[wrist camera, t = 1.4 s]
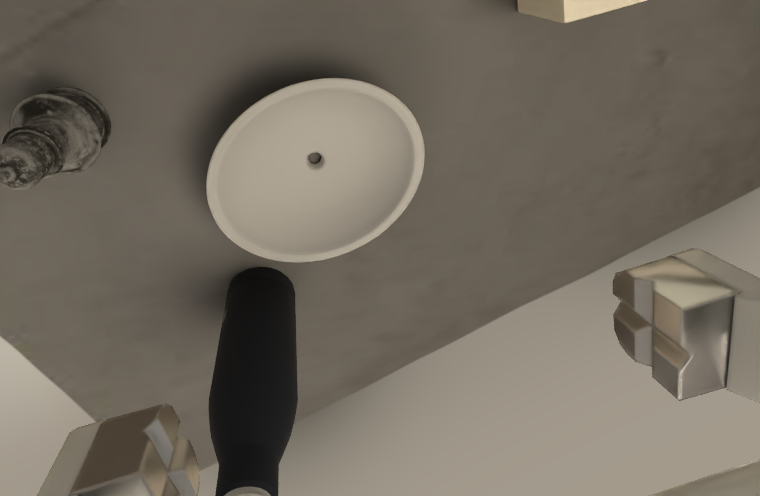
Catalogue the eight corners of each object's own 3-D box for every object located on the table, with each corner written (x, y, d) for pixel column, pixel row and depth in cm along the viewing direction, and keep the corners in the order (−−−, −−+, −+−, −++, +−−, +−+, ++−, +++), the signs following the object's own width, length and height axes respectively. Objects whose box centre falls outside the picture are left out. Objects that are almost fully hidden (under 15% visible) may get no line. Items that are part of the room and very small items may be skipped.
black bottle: (304, 308, 52) (322, 654, 26) (244, 329, 52) (204, 694, 26) (279, 257, 49) (272, 596, 23) (216, 280, 49) (137, 641, 23)
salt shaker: (95, 171, 42) (33, 241, 32) (18, 130, 40) (-76, 191, 29) (128, 113, 40) (73, 167, 30) (50, 66, 38) (-38, 107, 28)
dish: (270, 263, 49) (268, 293, 45) (174, 132, 42) (162, 153, 37) (437, 178, 47) (452, 200, 43) (368, 26, 40) (378, 35, 36)
